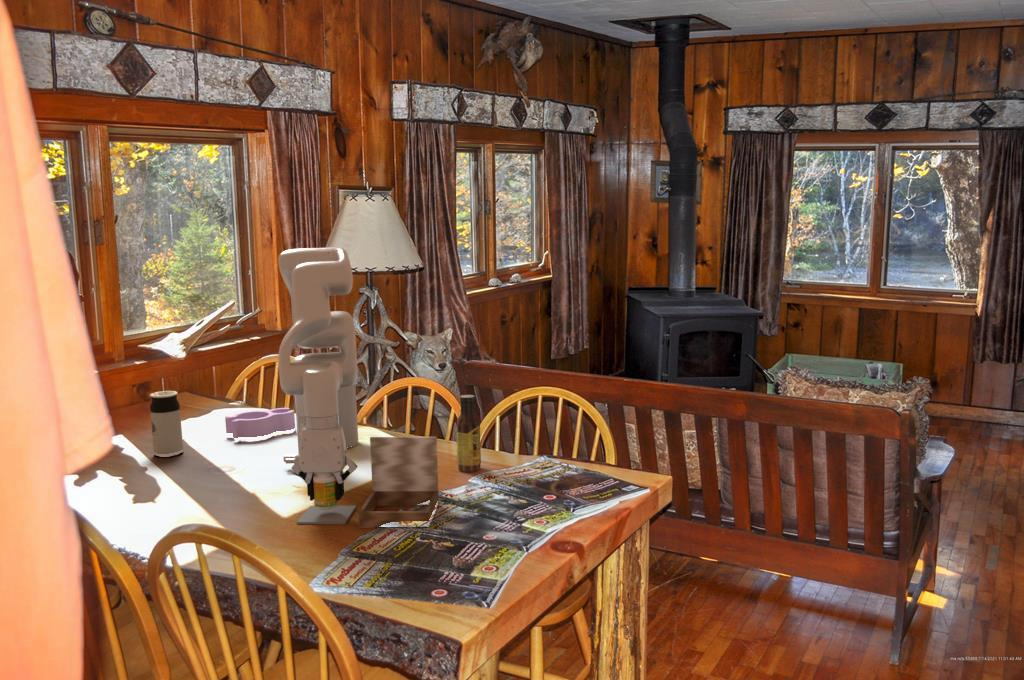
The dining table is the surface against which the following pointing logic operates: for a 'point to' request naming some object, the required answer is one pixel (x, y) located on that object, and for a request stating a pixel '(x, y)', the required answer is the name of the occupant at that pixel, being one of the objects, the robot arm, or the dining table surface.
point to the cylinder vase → (348, 414)
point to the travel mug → (166, 422)
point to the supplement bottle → (325, 491)
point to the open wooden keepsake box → (401, 479)
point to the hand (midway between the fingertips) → (326, 497)
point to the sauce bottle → (468, 436)
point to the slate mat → (327, 515)
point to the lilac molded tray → (260, 422)
